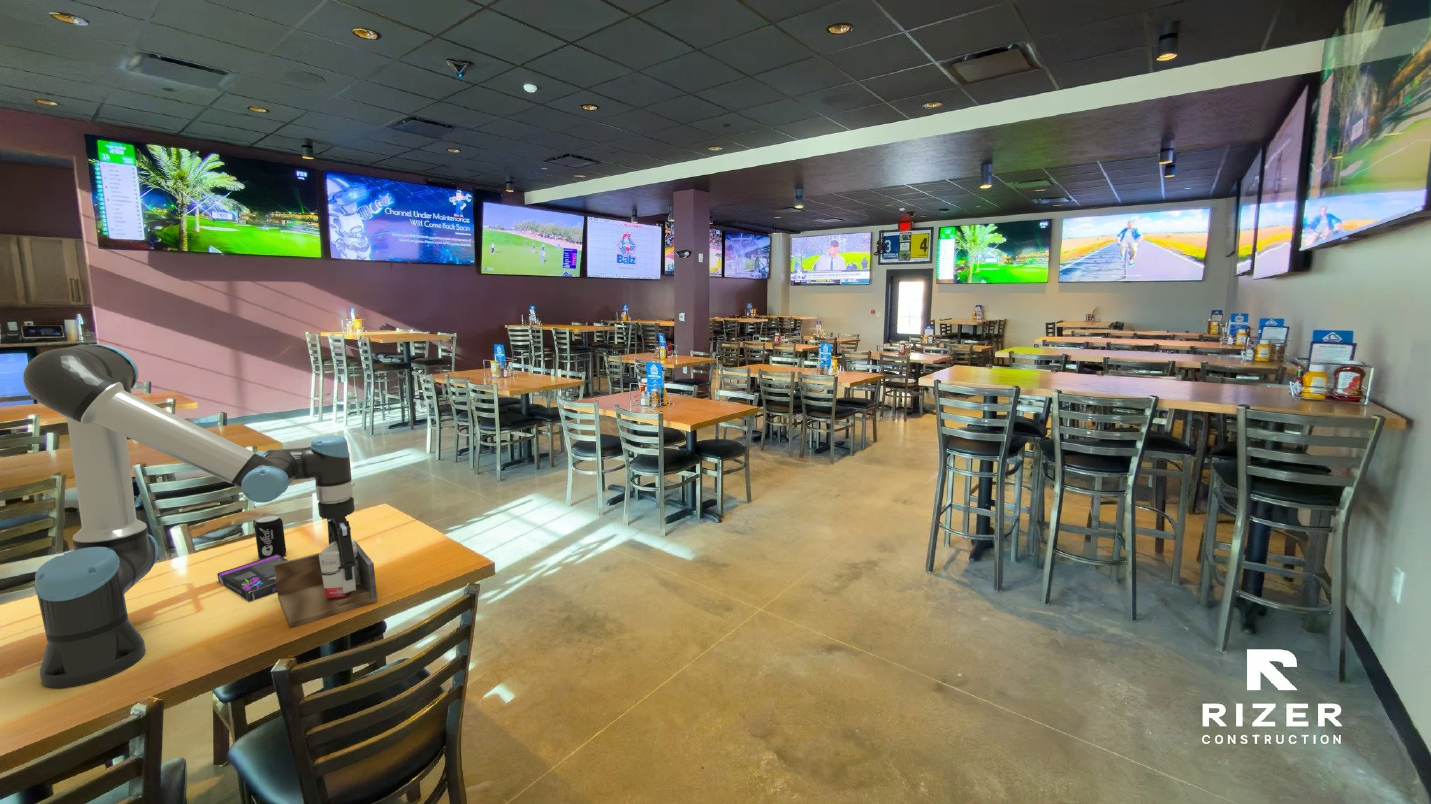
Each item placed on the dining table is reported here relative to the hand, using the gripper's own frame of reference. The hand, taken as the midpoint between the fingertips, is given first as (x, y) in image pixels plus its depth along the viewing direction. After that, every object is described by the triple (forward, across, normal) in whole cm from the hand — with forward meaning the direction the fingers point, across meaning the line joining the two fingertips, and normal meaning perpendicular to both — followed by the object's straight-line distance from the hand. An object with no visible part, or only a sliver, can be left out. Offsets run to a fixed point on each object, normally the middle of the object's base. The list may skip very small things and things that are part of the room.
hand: (344, 583), depth 154 cm
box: (+4, +24, +14) cm, 28 cm away
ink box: (+2, 0, 0) cm, 2 cm away
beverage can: (+3, +40, +10) cm, 41 cm away
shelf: (+3, +1, +4) cm, 5 cm away
